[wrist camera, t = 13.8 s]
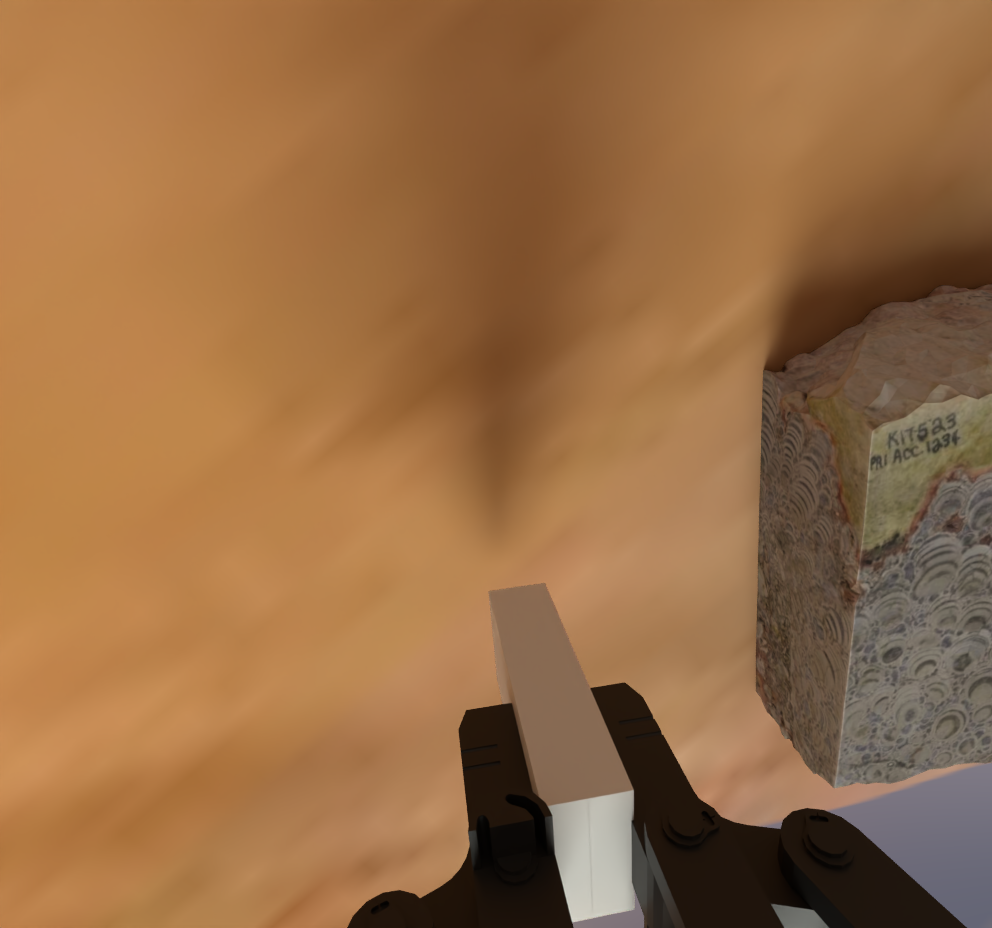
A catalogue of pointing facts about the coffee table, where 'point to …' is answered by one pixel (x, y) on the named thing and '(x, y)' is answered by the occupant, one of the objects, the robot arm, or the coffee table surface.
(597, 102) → the coffee table surface
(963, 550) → the geological specimen
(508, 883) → the robot arm
